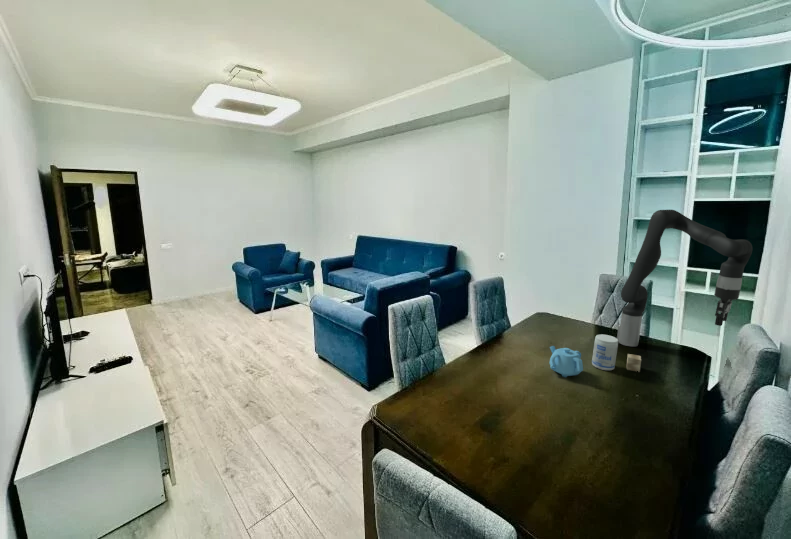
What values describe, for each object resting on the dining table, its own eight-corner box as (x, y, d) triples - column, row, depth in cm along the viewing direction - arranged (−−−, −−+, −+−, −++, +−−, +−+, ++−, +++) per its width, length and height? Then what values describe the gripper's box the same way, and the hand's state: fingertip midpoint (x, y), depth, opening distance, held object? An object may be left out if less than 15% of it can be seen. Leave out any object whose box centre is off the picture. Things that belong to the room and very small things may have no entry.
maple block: (626, 369, 164) (628, 357, 163) (626, 365, 168) (627, 353, 167) (639, 372, 161) (641, 360, 160) (638, 367, 165) (640, 356, 164)
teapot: (595, 379, 155) (598, 354, 153) (565, 385, 151) (567, 360, 148) (562, 359, 174) (565, 337, 172) (534, 364, 170) (536, 341, 167)
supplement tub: (593, 369, 164) (596, 340, 161) (590, 360, 173) (593, 333, 170) (617, 372, 161) (620, 343, 158) (612, 363, 170) (615, 335, 167)
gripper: (720, 282, 153) (713, 316, 156) (712, 287, 144) (705, 324, 148) (743, 285, 147) (735, 321, 150) (737, 291, 138) (728, 329, 142)
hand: (720, 322), depth 149 cm, fingers open, 8 cm apart
